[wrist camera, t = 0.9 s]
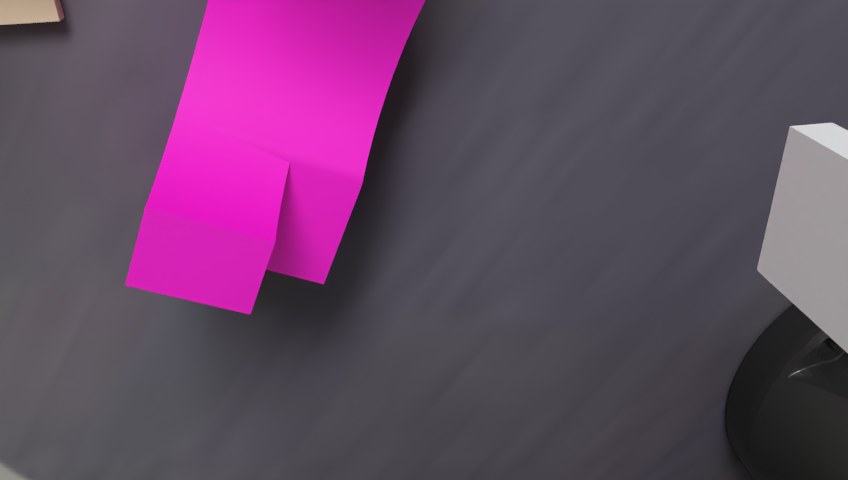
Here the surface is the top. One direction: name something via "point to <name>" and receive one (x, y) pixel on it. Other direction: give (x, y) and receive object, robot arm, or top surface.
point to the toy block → (268, 145)
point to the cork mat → (30, 11)
